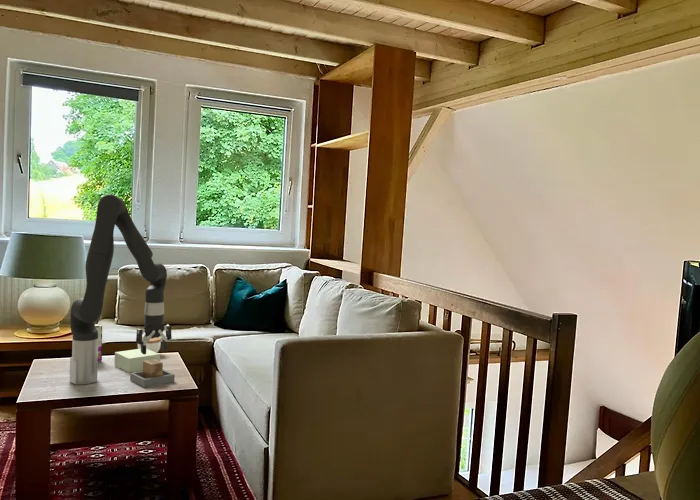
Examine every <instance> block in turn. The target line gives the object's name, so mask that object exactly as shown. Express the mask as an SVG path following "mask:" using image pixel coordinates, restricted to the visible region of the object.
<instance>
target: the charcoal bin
mask: <svg viewBox="0 0 700 500" xmlns="http://www.w3.org/2000/svg"><path fill="white" fill-rule="evenodd" d="M129 373H130V374H129V381H131V382H133V383H135V384H136V385H139V387H142V388H149V387H153V386H158V385H165V384H168V383H174V382H175V373H172V372H170V371H169V370H166V369H163V374H162V376H159V377H153V378H148V379H145V378H143V370H141V371H135V372H129Z"/></svg>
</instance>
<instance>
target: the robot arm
mask: <svg viewBox="0 0 700 500" xmlns="http://www.w3.org/2000/svg"><path fill="white" fill-rule="evenodd" d="M96 207H97V208H96V216H95V217H96V218H95V224H94V229H93V233H92V236H91V240H90V245H89V248H88V253H87V255H86V260H85V277H86V278H85V279H86V288H85V293H84V295H83V297H79V298H77V299H75V300H74V301H73V302H72V304H71V307H70V315H69V316H70V330H71V334H72V348H71V350H72V351H71V354H72V355H71V357H69V358H70V359H69V382H70V383H71V384H73V385H75V386H77V385H90V384H94V383H96V382H97V381H98V331H97V329H96V327H95V324H96V322H97V321H98V320H99V319H100V317H101V315H102V313H103V307H104V300H105V294H106V293H105V291H106V286H107V283H108V279H109V273H110V270H111V266H112V262H113V257H114V251H115V248H114V247H115V244H114V243H115V242H114V232H115V226H116V227H117V229H118V230H119V232H120V233H121V235H122V237H123V241H124V242H125V245H126V247H127V248H128V250H129V252H130V253H131V255H132V257H134V259H135V261H136V264H137V267H138V269H139V272H140V275H141V276H142V278H143V279H145V281H147V282H149V285H148V287H147V288H146V289H145V296H144V297H145V299H144V300H145V301H144V312H143V313H144V323H143V324H144V328H137V329H136V337H135V344H137V345H138V344H140V345H141V353H142V354H146V344H147V342H148V341H149V340H150V339H151V338H155V337H156V338H158V337H160V338H161V345H160V349H161V351H162V352H166V350H167V347H168V341H170V340H172V326H171V325H169V324H166V325H164V324H165V303H164V302H165V300H164V299H165V298H164V296H165V295H164V291H165V287H166V282H167V278H168V277H167V276H168V271H167V268H166V266H165V265H164V264H162V263H157V262H156V263H155V262H154V260H153V256H154V254H153V250H151V248H150V247H149V245H148V243H147V241H146V240H145V239H144V237H143V235H142V234H141V233H140V231H139V229H138V228H137V227H136V225H135V223H134V222H133V219H132V216H131V215H130V212H129V210H128V208H127V205H126V203H125V202H124V200H123V199H122V198H120V197H118V196H116V195H115V194H105V195H103V196H102V197H101V198H100V199H99V201H98V203H97V206H96ZM164 331H165V334H164V333H163V332H164ZM147 336H148V337H147ZM142 337H143V339H142Z"/></svg>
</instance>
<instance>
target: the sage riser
mask: <svg viewBox="0 0 700 500" xmlns="http://www.w3.org/2000/svg"><path fill="white" fill-rule="evenodd" d="M152 359H155V360H158V361H160V359H161V355H160V353H159V352H157V353H156V352H154V351H151V350H149V349H146V354H142V353H141V349H138V348H135V349H128V350H122V351H115V352H114V365H115V366H114V367H116V366H117V367H116V368H119V369H120V368H121V369H120V370H122V369H123V371H124V370H125V372H126V371H127V372H126V373H128V372H129V373H134V372H140V371H143V361H146V360H152ZM160 362H161V361H160Z"/></svg>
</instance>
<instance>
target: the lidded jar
mask: <svg viewBox="0 0 700 500" xmlns="http://www.w3.org/2000/svg"><path fill="white" fill-rule="evenodd" d="M143 337H144V336H142V339H143ZM147 337H148V336H147ZM161 346H162V340H161V338H160V337H158V338H156V337H155V338H151V339H150V340H149V341H148V342H147V344H146V349H149V350H151V351H154V352H156V353H159V351H160V349H161ZM137 349H141V345H140V344H137Z"/></svg>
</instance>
